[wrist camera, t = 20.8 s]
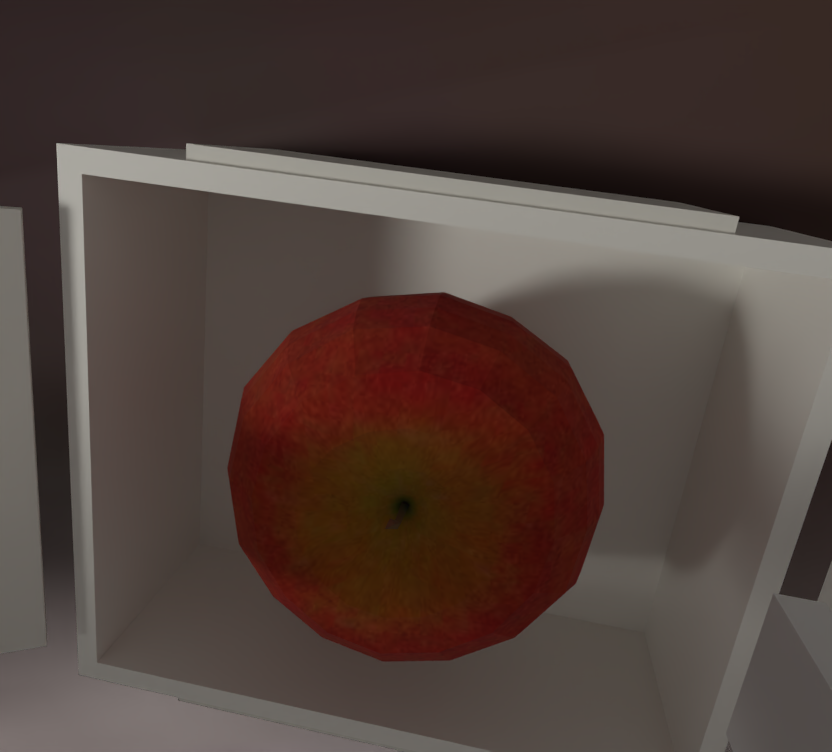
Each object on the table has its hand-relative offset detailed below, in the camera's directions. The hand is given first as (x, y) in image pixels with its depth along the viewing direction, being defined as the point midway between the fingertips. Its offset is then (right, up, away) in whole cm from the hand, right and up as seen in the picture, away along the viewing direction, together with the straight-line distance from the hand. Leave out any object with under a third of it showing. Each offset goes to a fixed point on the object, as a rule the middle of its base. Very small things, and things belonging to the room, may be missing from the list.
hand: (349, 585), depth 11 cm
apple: (+2, +2, +8) cm, 8 cm away
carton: (+2, +3, +8) cm, 9 cm away
